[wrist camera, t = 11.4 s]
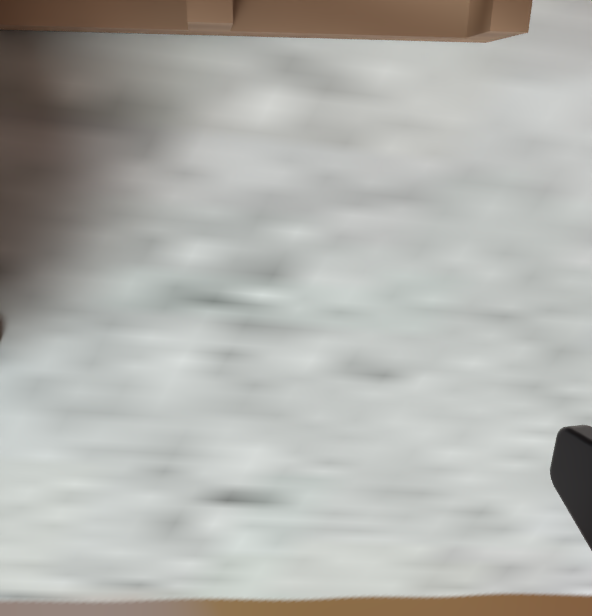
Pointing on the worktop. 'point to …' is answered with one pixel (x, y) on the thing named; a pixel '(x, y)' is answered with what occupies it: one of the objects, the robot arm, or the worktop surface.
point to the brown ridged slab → (278, 18)
